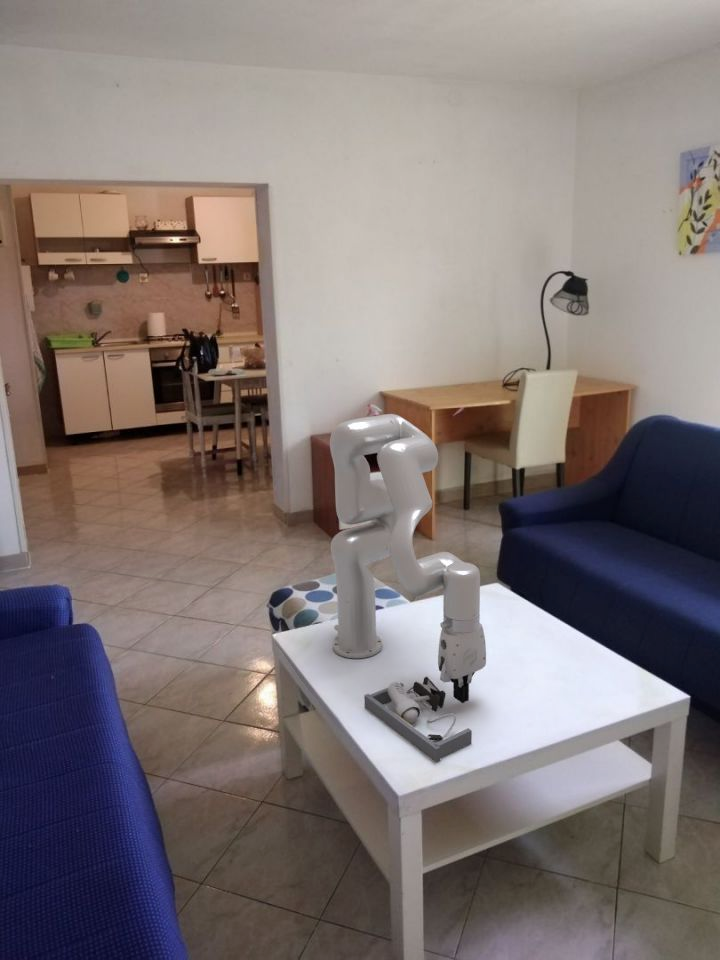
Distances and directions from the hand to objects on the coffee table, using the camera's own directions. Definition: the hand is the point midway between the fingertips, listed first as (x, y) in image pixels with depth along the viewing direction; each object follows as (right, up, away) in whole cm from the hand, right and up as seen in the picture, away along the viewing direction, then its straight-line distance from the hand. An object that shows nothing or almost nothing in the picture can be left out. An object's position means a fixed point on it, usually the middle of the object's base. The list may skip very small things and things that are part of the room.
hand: (461, 699), depth 158 cm
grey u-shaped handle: (-10, -4, -6) cm, 12 cm away
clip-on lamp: (-8, -3, -4) cm, 10 cm away
